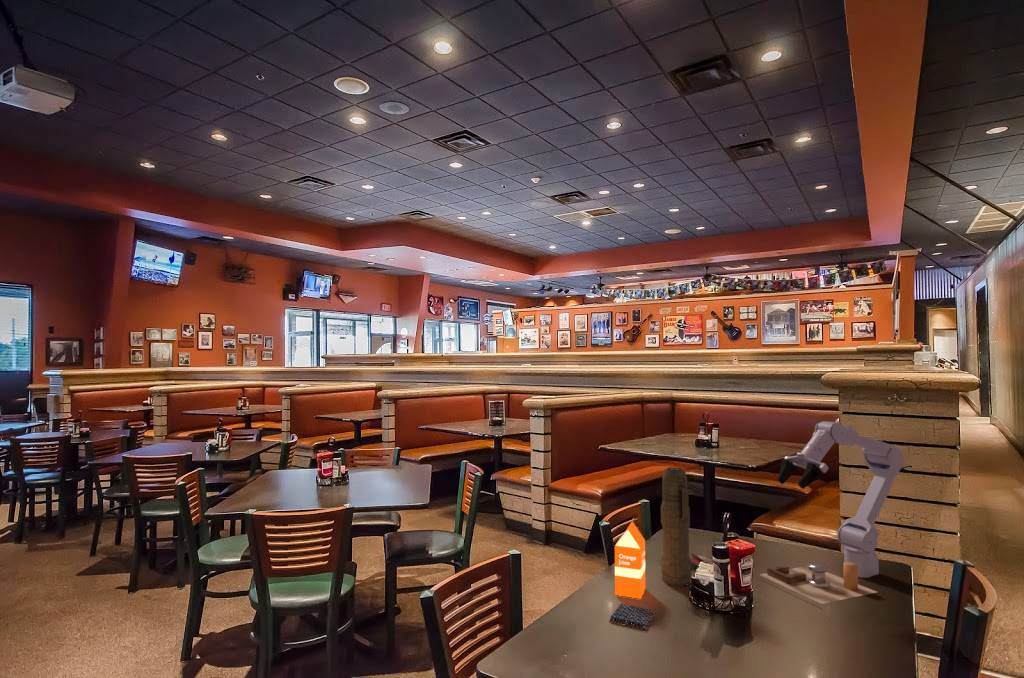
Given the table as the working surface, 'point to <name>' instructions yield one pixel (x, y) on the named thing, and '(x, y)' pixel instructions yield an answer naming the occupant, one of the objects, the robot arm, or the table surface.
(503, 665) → the table surface
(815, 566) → the bobbin
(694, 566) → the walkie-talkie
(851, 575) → the peg
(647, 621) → the woven mat
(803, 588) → the jig board
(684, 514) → the thermos
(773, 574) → the notch block
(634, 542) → the orange juice
